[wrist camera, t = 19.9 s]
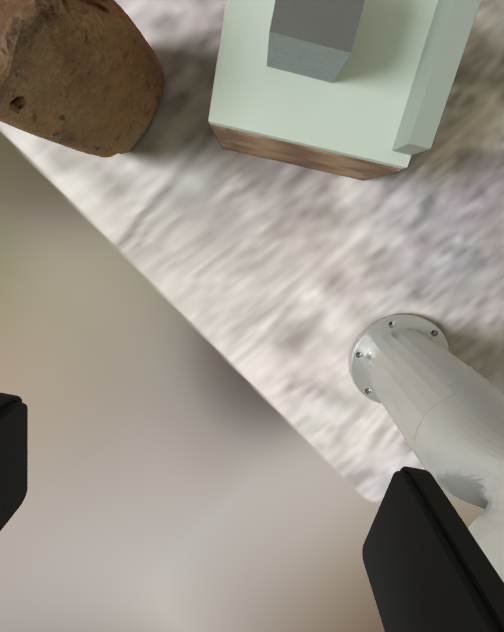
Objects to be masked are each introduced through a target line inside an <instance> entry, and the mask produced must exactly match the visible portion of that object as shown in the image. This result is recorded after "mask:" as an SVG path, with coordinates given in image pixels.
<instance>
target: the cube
mask: <svg viewBox="0 0 504 632" xmlns="http://www.w3.org/2000/svg"><path fill="white" fill-rule="evenodd" d="M364 1H365V0H275V5H274V10H273V16H272V21H271V26H270V31H269V42H268V54H267V66H268V67H272V68H276V69H279V70H283V71H287V72H291V73H295V74H299V75H303V76H307V77H310V78H314V79H318V80H322V81H326V82H330V83H333V81H334V80H335V78H336V76H337V75H338V73H339V72H340V70H341V68H342V67H343V65H344V64H345V62H346V60H347V59H348V57H349V55H350V54H351V51H352V47H353V43H354V40H355V36H356V32H357V28H358V24H359V20H360V17H361V13H362V9H363V5H364Z"/></svg>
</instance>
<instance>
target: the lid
mask: <svg viewBox="0 0 504 632" xmlns="http://www.w3.org/2000/svg"><path fill="white" fill-rule="evenodd" d="M480 2H481V0H365V1H364V5H363V9H362V13H361V17H360V20H359V24H358V28H357V32H356V36H355V40H354V43H353V47H352V51H351V54H350V55H349V57H348V59H347V60H346V62H345V64H344V65H343V67H342V68H341V70H340V72H339V73H338V75H337V76H336V78H335V80H334V81H333V83H330V82H326V81H322V80H318V79H314V78H310V77H307V76H303V75H299V74H295V73H291V72H287V71H283V70H279V69H276V68H272V67H268V66H267V54H268V42H269V31H270V26H271V21H272V16H273V10H274V5H275V0H226V4H225V11H224V18H223V24H222V31H221V38H220V44H219V51H218V58H217V64H216V71H215V78H214V84H213V91H212V98H211V104H210V111H209V118H208V122H209V124H211V125H216V126H220V127H224V128H229V129H233V130H237V131H241V132H246V133H250V134H254V135H258V136H263V137H267V138H271V139H276V140H280V141H284V142H288V143H293V144H297V145H301V146H305V147H310V148H314V149H318V150H323V151H327V152H331V153H335V154H340V155H344V156H348V157H352V158H357V159H361V160H365V161H370V162H374V163H378V164H382V165H387V166H391V167H395V168H399V169H404V168H407V167H408V164H409V161H410V158H411V155H414V154H417V153H420V152H423V151H426V150H429V149H431V146H432V143H433V140H434V137H435V134H436V131H437V128H438V126H439V123H440V120H441V117H442V114H443V111H444V108H445V105H446V102H447V99H448V96H449V93H450V90H451V87H452V84H453V81H454V79H455V76H456V73H457V70H458V67H459V64H460V61H461V58H462V55H463V52H464V49H465V46H466V43H467V40H468V37H469V35H470V32H471V29H472V26H473V23H474V20H475V17H476V14H477V11H478V8H479V5H480Z"/></svg>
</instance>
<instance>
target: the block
mask: <svg viewBox="0 0 504 632" xmlns="http://www.w3.org/2000/svg"><path fill="white" fill-rule="evenodd" d="M163 82H164V73H163V70H162V67H161V65H160V63H159V61H158V59H157V57H156V55H155V54H154V52H153V50H152V49H151V47H150V46H149V44H148V43H147V41H146V40H145V38H144V37H143V35H142V34H141V32H140V31H139V30H138V28H137V27H136V26H135V24H134V23H133V22H132V20H131V19H130V18H129V16H128V15H127V14H126V13H125V12H124V10H123V9H122V8H121V7H120V6H119V5H118V4H117V3H116V2H115V1H114V0H0V121H1V122H4V123H6V124H8V125H11V126H13V127H15V128H18V129H20V130H23V131H25V132H28V133H30V134H33V135H35V136H38V137H41V138H44V139H47V140H50V141H52V142H55V143H58V144H61V145H64V146H66V147H69V148H72V149H75V150H77V151H81V152H84V153H87V154H93V155H96V156H100V157H111V156H113V155H115V154H117V153H120V154H123V153H126V152H128V151H129V150H131V149H132V148H133V147H134V146H135V145H136V143H137V142H138V141H139V140H140V139H141V137H142V136H143V135H144V133H145V132H146V131H147V129H148V127H149V125H150V123H151V122H152V120H153V114H154V113H155V112H156V110H157V108H158V105H159V102H160V99H161V96H162V84H163Z"/></svg>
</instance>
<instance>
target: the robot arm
mask: <svg viewBox="0 0 504 632" xmlns="http://www.w3.org/2000/svg"><path fill="white" fill-rule="evenodd" d="M390 322H391V323H390ZM389 323H390V324H389ZM357 352H358V353H357ZM349 370H350V373H351V377H352V379H353V381H354V383H355V385H356V386H357V388H358V389H359V391H360V392H361V393H362V394H363V395H365V396H366V397H368V398H369V399H371V400H373V401H375V402H378V403H381V404H383V406H384V407H385V409H386V410H387V412H388V414H389V415H390V417H391V418H392V420H393V421H394V423H395V424H396V426H397V427H398V429H399V430H400V432H401V433H402V435H403V437H404V438H405V440H406V441H407V443H408V444H409V446H410V447H411V449H412V450H413V452H414V453H415V455H416V456H417V458H418V460H419V461H420V463H421V464H422V466H423V467H424V469H425V470H423V469H417V468H412V467H403V468H401V470H400V471H396V472H395V473H394V475H393V477H392V479H391V482H390V484H389V486H388V489H387V491H386V493H385V496H384V498H383V500H382V503H381V505H380V507H379V510H378V512H377V514H376V517H375V519H374V521H373V524H372V526H371V529H370V531H369V533H368V536H367V538H366V540H365V543H364V545H363V561H364V564H365V568H366V571H367V574H368V578H369V581H370V584H371V587H372V591H373V594H374V597H375V600H376V604H377V607H378V610H379V613H380V616H381V620H382V623H383V626H384V629H385V632H504V391H502V390H501V389H500V388H498V387H497V386H495V385H494V384H493V383H491V382H490V381H489V380H487V379H486V378H485V377H483V376H482V375H480V374H479V373H478V372H476V371H475V369H474V368H473V367H470V366H468V365H467V364H466V363H464V362H463V361H461V360H460V359H459V358H457V357H456V356H455V355H453V354H452V353H451V352H450V350H449V344H448V342H447V339H446V337H445V336H444V334H443V333H442V331H441V330H440V329H439V328H438V327H437V326H436V325H434V324H433V323H431V322H430V321H428V320H426V319H424V318H422V317H419V316H415V315H410V314H398V315H392V316H388V317H385V318H383V319H380V320H378V321H377V322H375V323H373V324H371V325H370V326H369V327H368V328H366V329H365V330H364V331H363V332H362V333H361V335H360V336H359V337H358V338H357V340H356V342H355V343H354V345H353V348H352V350H351V353H350V359H349ZM440 487H441V488H442V489H444V490H445V491H446V492H448V493H449V494H451V495H452V496H454V497H456V498H458V499H460V500H462V501H464V502H467V503H469V504H472V505H475V506H478V507H480V508H483V509H485V510H484V512H483V513H482V514H481V515H480V516H479V517H478V518H477V519H476V520H475V521H474V522H473V523H472V524H471V525H470V526H469V529H468V528H467V527H466V525H465V524H464V522H463V521H462V519H461V518H460V517H459V515H458V513H457V512H456V510H455V509H454V507H453V506H452V504H451V503H450V502H449V500H448V498H447V497H446V495H445V494H444V492H443V491H442V489H441V488H440ZM26 492H27V405H26V404H24V403H22V399H21V398H20V397H19V396H15V395H10V394H5V393H0V531H1V529H2V528H3V527H4V526H5V524H6V523H7V522H8V521H9V519H10V518H11V517H12V516H13V514H14V513H15V512H16V510H17V509H18V508H19V506H20V505H21V504H22V502H23V500H24V498H25V496H26Z"/></svg>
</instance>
